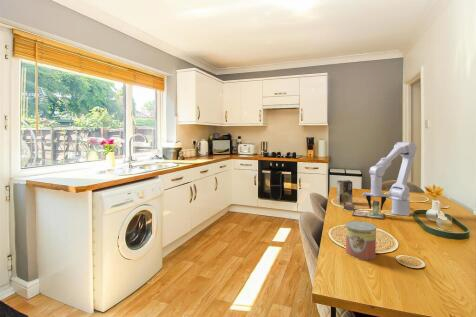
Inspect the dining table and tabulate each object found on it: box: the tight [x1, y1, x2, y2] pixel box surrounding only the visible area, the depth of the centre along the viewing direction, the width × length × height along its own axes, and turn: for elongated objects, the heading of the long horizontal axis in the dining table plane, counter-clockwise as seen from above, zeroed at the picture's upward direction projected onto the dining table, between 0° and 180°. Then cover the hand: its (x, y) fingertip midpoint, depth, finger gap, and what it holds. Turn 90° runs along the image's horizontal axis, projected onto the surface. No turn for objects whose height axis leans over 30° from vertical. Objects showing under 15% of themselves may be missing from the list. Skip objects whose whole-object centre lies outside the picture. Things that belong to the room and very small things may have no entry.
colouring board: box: [352, 209, 385, 221], centre depth 160 cm, size 16×12×1 cm
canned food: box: [345, 220, 377, 261], centre depth 109 cm, size 11×11×12 cm
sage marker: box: [372, 200, 380, 215], centre depth 157 cm, size 3×3×8 cm
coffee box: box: [336, 179, 353, 204], centre depth 189 cm, size 9×6×16 cm
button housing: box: [343, 204, 355, 211], centre depth 174 cm, size 6×6×2 cm
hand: (375, 208), depth 157 cm, fingers open, 5 cm apart
